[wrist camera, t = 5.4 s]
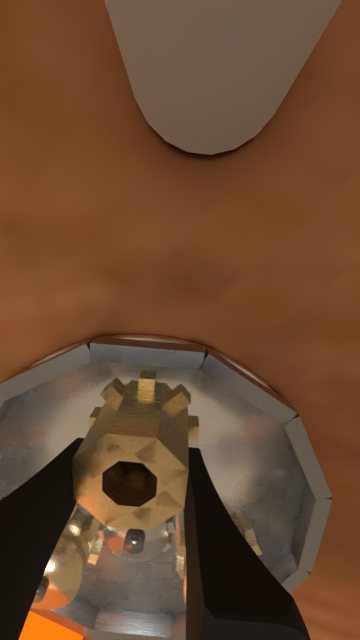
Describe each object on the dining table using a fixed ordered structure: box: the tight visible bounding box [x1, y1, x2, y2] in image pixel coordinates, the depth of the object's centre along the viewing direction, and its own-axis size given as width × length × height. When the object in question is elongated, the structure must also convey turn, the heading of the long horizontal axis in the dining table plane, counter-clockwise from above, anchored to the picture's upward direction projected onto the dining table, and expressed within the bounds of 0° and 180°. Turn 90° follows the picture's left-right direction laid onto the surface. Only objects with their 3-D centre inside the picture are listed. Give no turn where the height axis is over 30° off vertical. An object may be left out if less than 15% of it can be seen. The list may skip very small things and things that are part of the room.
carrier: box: [0, 334, 333, 640], centre depth 15 cm, size 24×24×4 cm
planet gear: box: [72, 370, 199, 530], centre depth 13 cm, size 6×6×5 cm
